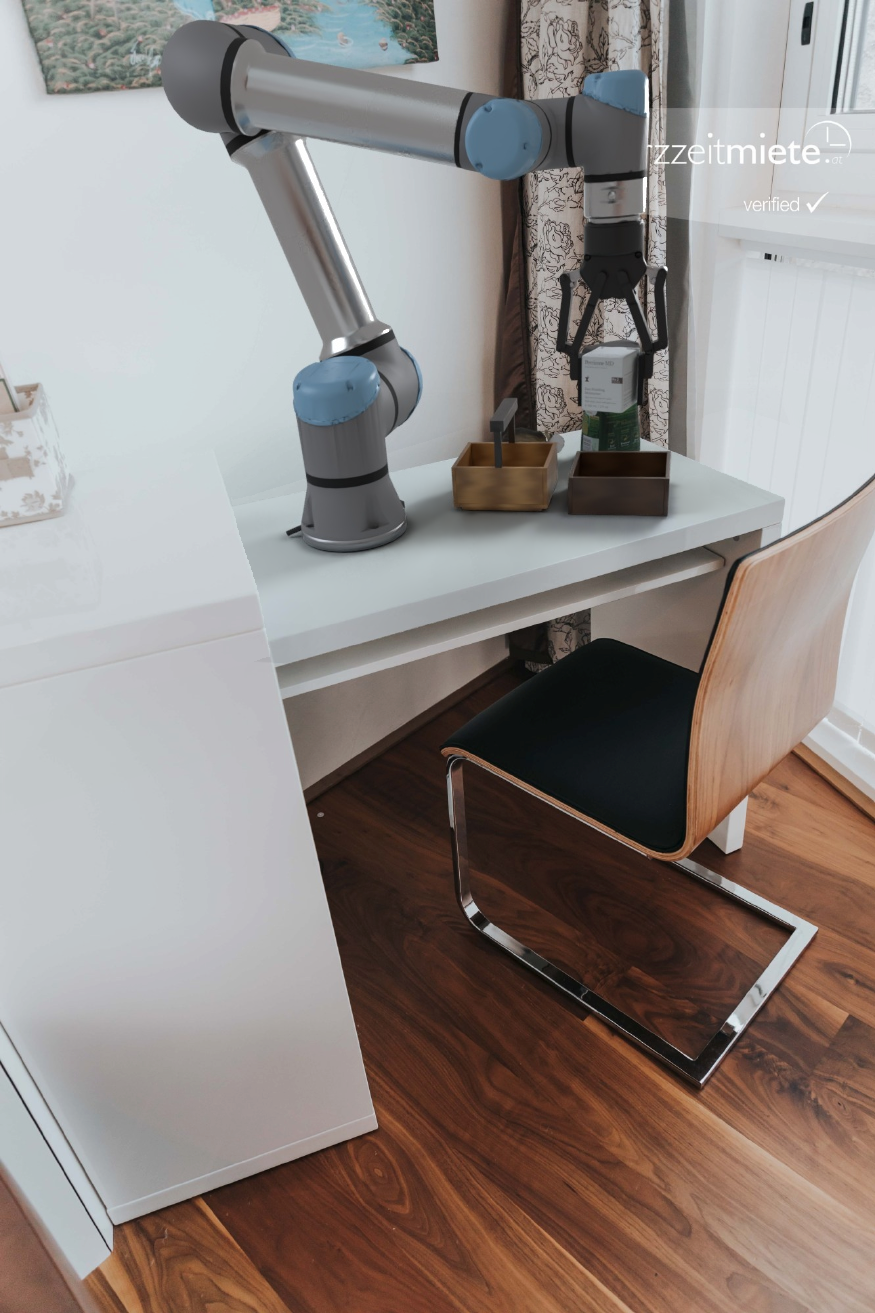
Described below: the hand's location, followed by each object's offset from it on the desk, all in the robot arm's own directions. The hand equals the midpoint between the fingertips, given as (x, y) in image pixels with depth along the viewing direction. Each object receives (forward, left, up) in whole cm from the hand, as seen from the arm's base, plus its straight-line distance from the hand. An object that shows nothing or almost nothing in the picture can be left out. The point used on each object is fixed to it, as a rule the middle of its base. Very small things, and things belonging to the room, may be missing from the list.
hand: (610, 403), depth 121 cm
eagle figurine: (-14, +18, -15) cm, 27 cm away
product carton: (0, 0, -1) cm, 1 cm away
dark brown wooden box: (+1, +3, -15) cm, 15 cm away
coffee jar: (-2, +23, -15) cm, 28 cm away
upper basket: (-16, +3, -15) cm, 22 cm away
